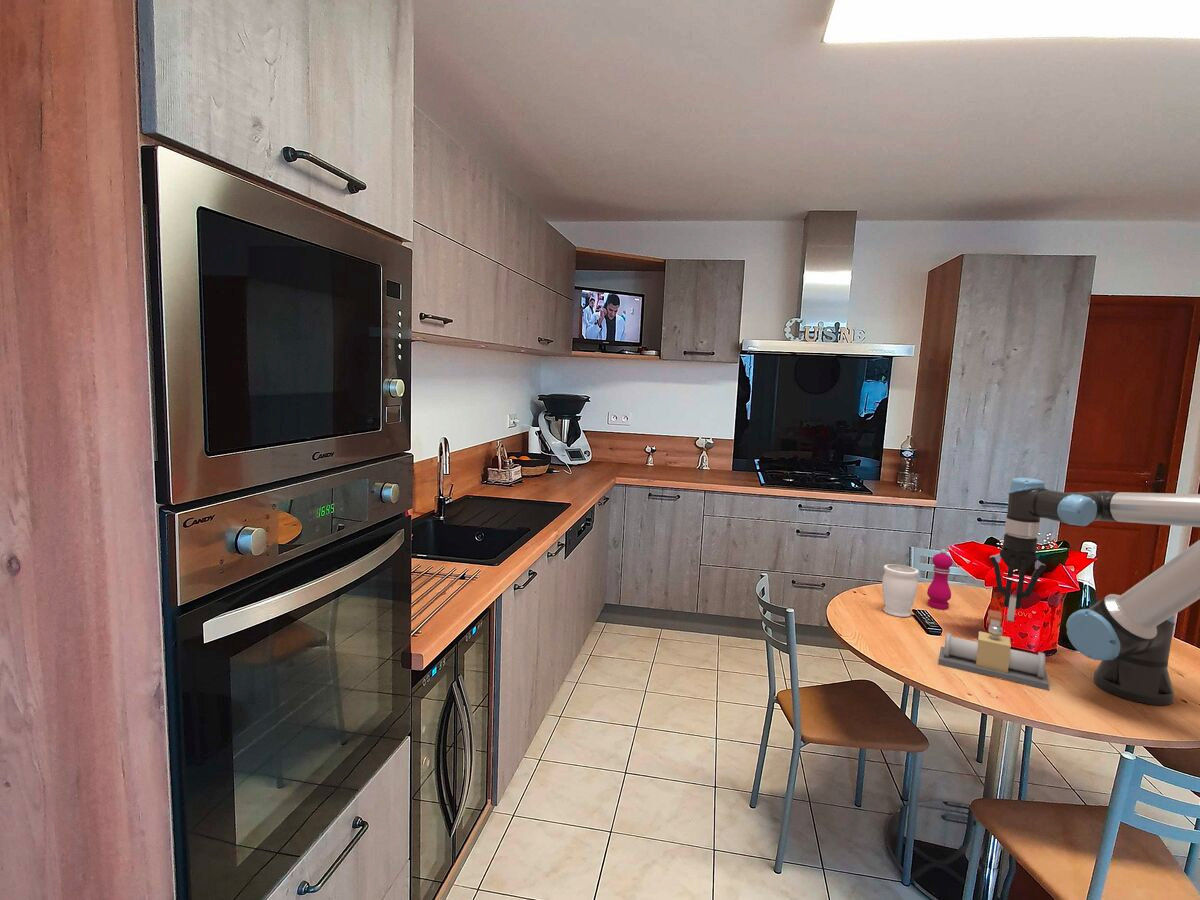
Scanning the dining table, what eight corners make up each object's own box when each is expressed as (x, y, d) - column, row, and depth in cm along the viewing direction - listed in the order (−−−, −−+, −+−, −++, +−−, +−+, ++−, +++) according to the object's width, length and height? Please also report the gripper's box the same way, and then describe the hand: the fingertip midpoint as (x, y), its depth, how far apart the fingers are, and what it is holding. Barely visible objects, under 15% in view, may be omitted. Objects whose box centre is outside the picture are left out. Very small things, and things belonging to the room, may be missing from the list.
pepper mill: (954, 610, 209) (960, 552, 207) (932, 609, 210) (938, 551, 208) (942, 603, 217) (948, 546, 215) (921, 602, 217) (927, 546, 215)
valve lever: (1001, 636, 162) (1002, 629, 161) (988, 633, 163) (989, 626, 163) (1000, 618, 175) (1001, 612, 174) (987, 616, 176) (988, 609, 176)
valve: (1044, 675, 163) (1049, 638, 162) (1048, 690, 154) (1052, 652, 153) (940, 651, 175) (943, 617, 174) (938, 664, 166) (941, 628, 166)
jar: (915, 621, 198) (919, 575, 197) (879, 614, 203) (883, 569, 201) (913, 610, 208) (918, 566, 206) (879, 605, 212) (883, 561, 211)
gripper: (1049, 536, 168) (1038, 620, 171) (992, 528, 175) (982, 609, 178) (1051, 542, 162) (1039, 629, 165) (992, 533, 169) (982, 617, 171)
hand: (1010, 619), depth 171 cm, fingers closed
